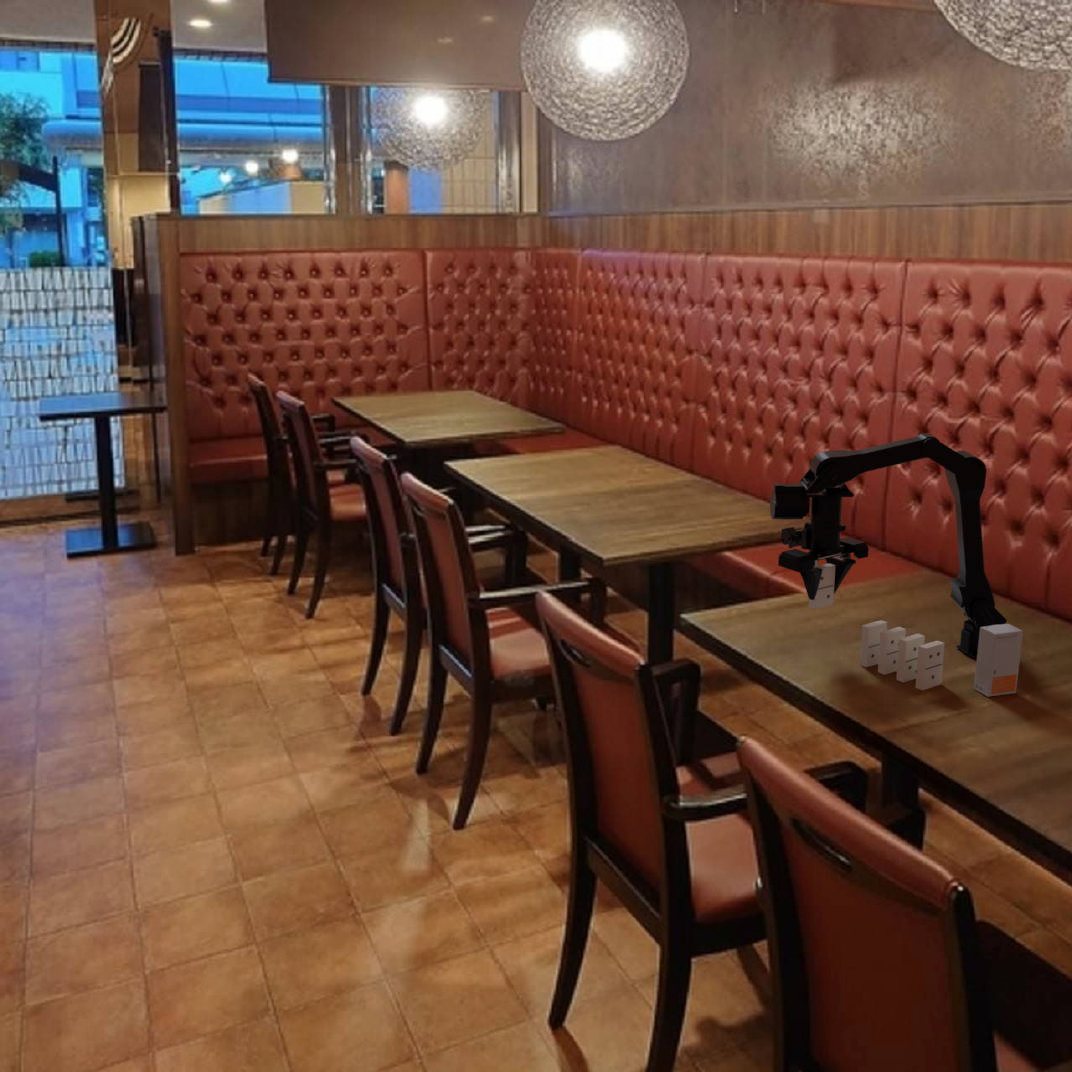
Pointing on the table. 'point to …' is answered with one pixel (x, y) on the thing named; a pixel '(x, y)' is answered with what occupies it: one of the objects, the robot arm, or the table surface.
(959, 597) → the robot arm
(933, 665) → the domino
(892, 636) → the domino
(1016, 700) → the table surface
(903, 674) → the domino
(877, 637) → the domino
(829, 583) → the domino
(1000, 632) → the skincare box
